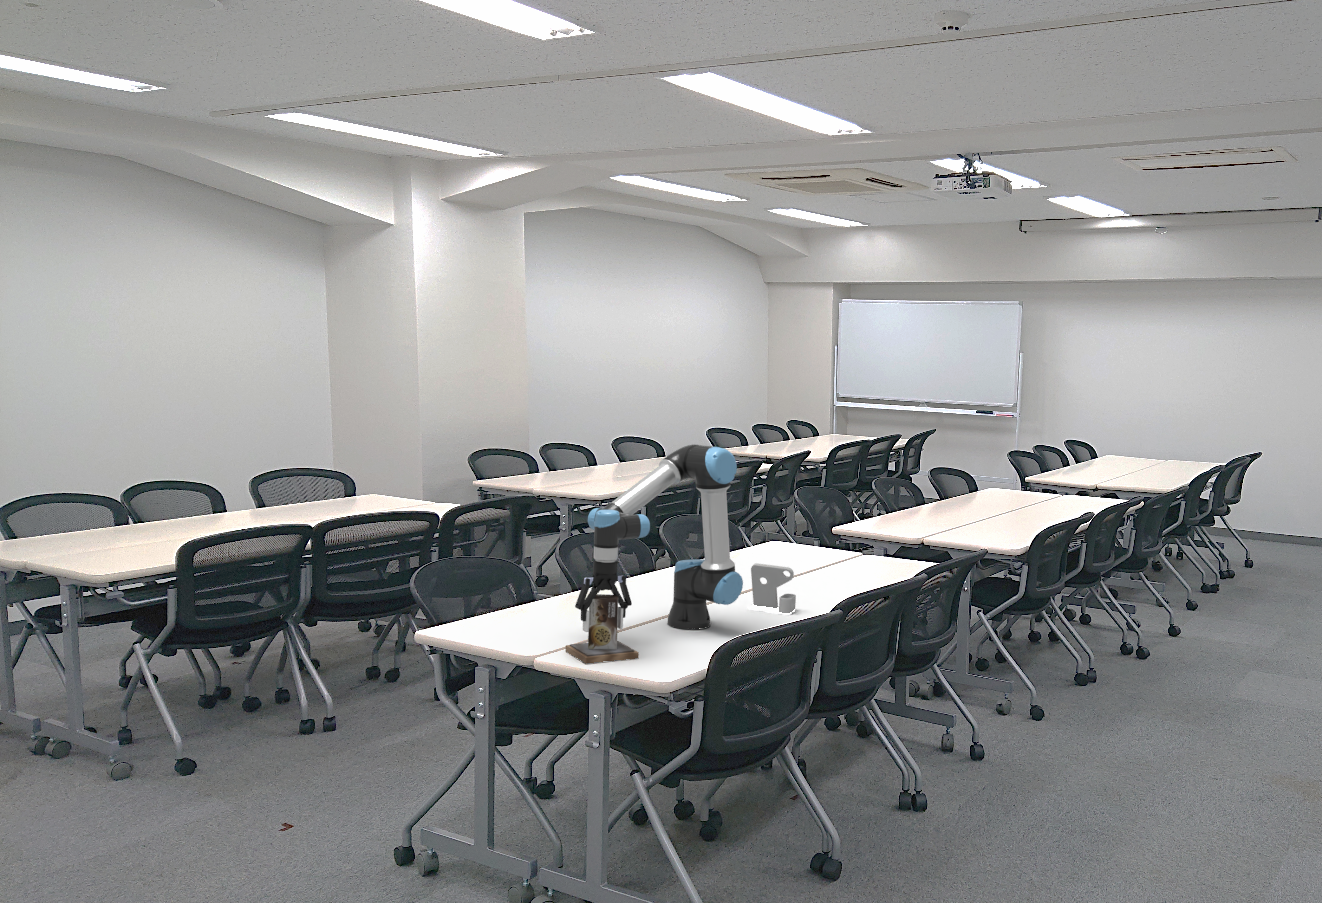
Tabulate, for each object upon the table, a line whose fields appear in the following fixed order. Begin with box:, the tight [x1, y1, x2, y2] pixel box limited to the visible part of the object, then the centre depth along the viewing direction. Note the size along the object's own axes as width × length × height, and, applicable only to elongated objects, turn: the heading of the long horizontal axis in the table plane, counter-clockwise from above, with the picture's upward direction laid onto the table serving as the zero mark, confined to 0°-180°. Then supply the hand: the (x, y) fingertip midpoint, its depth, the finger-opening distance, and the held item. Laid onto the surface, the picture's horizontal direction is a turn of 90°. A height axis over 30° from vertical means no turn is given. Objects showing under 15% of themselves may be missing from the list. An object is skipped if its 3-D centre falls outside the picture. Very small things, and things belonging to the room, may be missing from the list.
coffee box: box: [587, 593, 619, 650], centre depth 336 cm, size 9×6×16 cm
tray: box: [565, 640, 640, 664], centre depth 337 cm, size 18×15×2 cm
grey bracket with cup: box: [750, 562, 797, 613], centre depth 408 cm, size 17×10×18 cm, turn 66°
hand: (602, 629), depth 336 cm, fingers open, 11 cm apart
